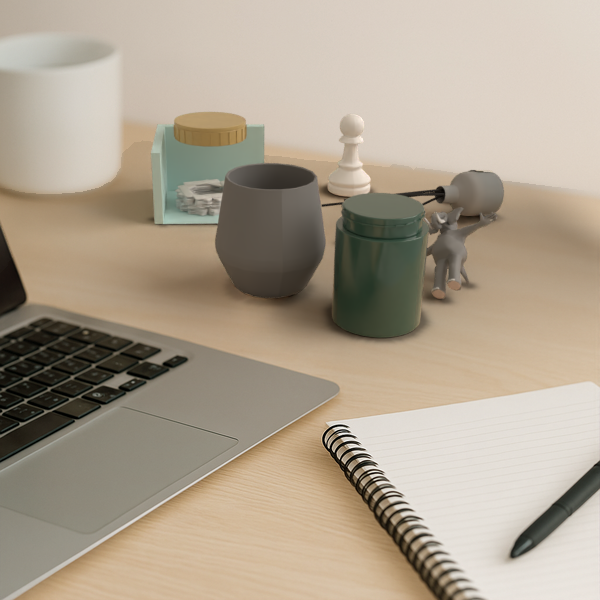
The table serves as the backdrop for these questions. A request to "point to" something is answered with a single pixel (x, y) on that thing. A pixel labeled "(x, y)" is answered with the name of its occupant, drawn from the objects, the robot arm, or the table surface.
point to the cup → (270, 228)
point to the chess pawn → (350, 161)
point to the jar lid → (210, 129)
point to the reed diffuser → (465, 193)
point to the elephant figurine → (451, 249)
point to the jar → (379, 265)
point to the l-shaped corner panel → (196, 174)
